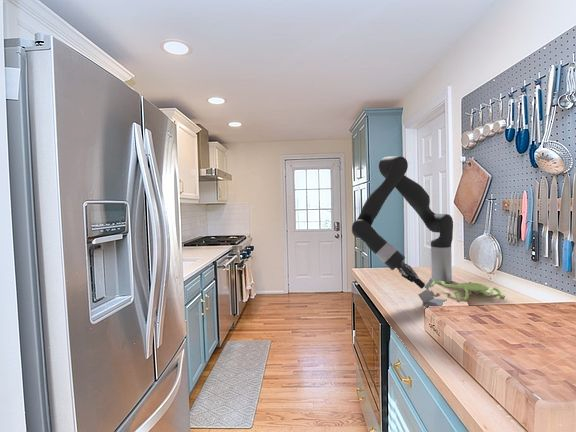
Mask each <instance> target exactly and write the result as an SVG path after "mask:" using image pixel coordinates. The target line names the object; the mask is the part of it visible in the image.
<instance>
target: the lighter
mask: <svg viewBox="0 0 576 432" xmlns="http://www.w3.org/2000/svg"><path fill="white" fill-rule="evenodd" d="M433 281H434V280H433V279H431V278H429V279H428V281H427V282H426V283H425V286H424V288H425V289H424V290H422V291H420V292H418V293H417V295H418V297H419V299H420V300H421V301H422V303H423V304H426V302H428V301H430V300H432V299H435V298H434V297H435V293H434V291H433V290H432V289H431V290H429V289H430V286H431V284H432V283H433Z"/></svg>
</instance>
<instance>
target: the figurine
mask: <svg viewBox="0 0 576 432" xmlns="http://www.w3.org/2000/svg"><path fill="white" fill-rule="evenodd" d="M435 284H440V285H442V286H444V287H448V288H456V289H455V290H453V294H454V296H455V298H456V299H457V301H458V300H459V301H460V299H461V301H463V300H464V301H465V300H466V301H468V299H469V295H471V294H473V293H474V292H475V293H477V295H478V294H479V293H480V292H481V294H482V295H484V296H485V297H486V296H487V297H491V296H493V294H494V291H495V292H496V293H497V296H498V297H499V298H504V297H505V295H504V293H503V292H502V291H501V290H500V289H499V288H497V287H491V288H490V287H489V286H488V285H485V284H482V283H477V282H472V281H470V282H469V281H468V282H463V283H458V284H450V283H449V284H448V283H445V282H444V281H433V283H432V284H431V286H430V287H429V289H430V288H433V287H434V286H435ZM457 288H458V289H461V290H464V291H465V293H464V294H465V295H464V297H463V296H462V294H461V292H459V290H457ZM489 289H490V292H489V293H488V292H487V291H488V290H489ZM457 294H458V295H457ZM458 296H459V297H460V298H459V297H458Z"/></svg>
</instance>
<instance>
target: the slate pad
mask: <svg viewBox="0 0 576 432" xmlns="http://www.w3.org/2000/svg"><path fill="white" fill-rule="evenodd" d="M447 300H448V299H445V298H444V299H443V298H434V299H432V300H430V301H428V302H426V303H425V308H428V307H429V306H442V305H443V302H445V301H447Z"/></svg>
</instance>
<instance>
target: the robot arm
mask: <svg viewBox="0 0 576 432" xmlns="http://www.w3.org/2000/svg"><path fill="white" fill-rule="evenodd" d="M408 167H409V163H408V160H407V159H406V157H404V156H400V155H395V156H394V155H393V156H385V157H383V158H382V159H380V160H379V162H378V169H379V170H378V171H379V173H380V174H381V176H382V177H384V178H385V179H384V181H383V182H381V184H380V185H378V187H377V188H376V189H374V190H373V191H372V192H371V193H370V195H369V196H368V197H367V199H366V200H365V202H364V204H363V206H362V207H361V211H360V213H359V216H358V217H357V219H356V220H355V221H353V223H352V226H351V232H352V235H353V236H354V237H355V238H357V239H360V240H362V241H363V243H365V245H366V246H367V248H368V249H370V251H372V252H373V254H375V255H376V256H377V257H378V258H379V259H380V261H381V262H382V263H383V264H385V266H387V268H389V269H390V270H391V271H394V270H395V269H397V270H398V272H399V274H401V277H402V278H404V279H405V280H408V281H409V282H411V283H414V284H415V285H416V286H418V288H419V289H424V288H425V285H426V283H425V282H424V281H422V279H420V278H419V276H418V274H417V273H416V271H415V270H414V269H413V268H412V267H411V266H410V265H409V264H408V263H405V262H404V260H405V258H406V257H405V256H404V255H403V254H402V253H401V252H400V251H399V250H397V248H395V247H394V245H392V244H391V243H389V242H388V241H387V240H386V239H384V237H382V236H381V235H380V234H379V233H378V232H377V231H376V229H375V228H373V226H372V225H373V223H374V221H375V219H376V218H377V216H378V215H379V213H380V211H381V210H382V207H383V205H384V203H385V202H386V200H387V198H388V197H389V196H390V195H391V193H392V192H393V191H394V189H396V191H398V192H399V194H400V195H401V196H402V197H403V198H404V200H405V201H407V203H408V204H409V205H410V207H411V208H412V209H413V210H414V211H415V213H416V214H417V215H418V216H419V218H420V219H421V220H422V222H423V224H424V225H425V227H426V228H427V229H428V231H431V232H432V233H439V236H438V238H435V239H432V240H430V268H431V269H430V272H431V273H430V275H431V279H433V280H434V281H444V282H445V284H448V283H449V284H450V283H452V282H453V270H452V269H453V268H452V266H453V265H452V260H453V259H452V242H453V238H454V237H453V235H454V233H453V232H454V221H453V217H452V216H451V214H448V213H435V212H434V211H432V209H431V208H430V203H431V199H430V196H429V194H428V192H427V191H426V189H425V188H423V187H422V186H421V184H419V182H416V181H414V180H413V179H411V178H409V177H408V176H406V173H407V171H408Z"/></svg>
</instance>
